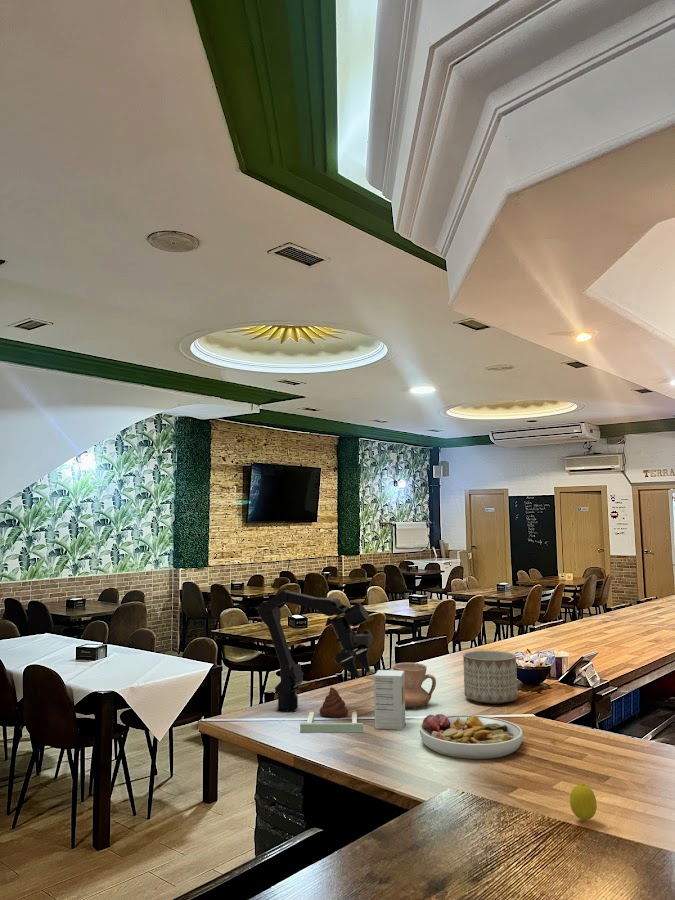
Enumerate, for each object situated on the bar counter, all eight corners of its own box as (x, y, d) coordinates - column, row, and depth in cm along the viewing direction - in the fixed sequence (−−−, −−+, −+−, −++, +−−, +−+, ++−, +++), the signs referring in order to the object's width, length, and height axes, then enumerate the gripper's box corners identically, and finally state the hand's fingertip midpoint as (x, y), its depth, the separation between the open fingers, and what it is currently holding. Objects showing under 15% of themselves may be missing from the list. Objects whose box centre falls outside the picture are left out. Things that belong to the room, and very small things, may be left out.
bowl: (526, 735, 211) (525, 709, 212) (519, 768, 183) (517, 737, 184) (431, 727, 221) (430, 702, 221) (410, 757, 192) (409, 728, 193)
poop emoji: (315, 717, 233) (315, 689, 234) (325, 710, 241) (324, 683, 242) (343, 719, 230) (342, 691, 231) (351, 713, 238) (351, 685, 239)
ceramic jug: (386, 710, 240) (386, 669, 242) (386, 699, 255) (386, 661, 256) (437, 712, 239) (437, 670, 240) (434, 701, 253) (434, 662, 255)
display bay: (300, 732, 216) (300, 724, 216) (303, 719, 230) (303, 712, 230) (363, 732, 215) (362, 724, 215) (362, 719, 229) (362, 711, 230)
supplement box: (402, 730, 217) (401, 676, 218) (374, 729, 218) (373, 675, 220) (405, 722, 226) (404, 670, 228) (378, 720, 228) (377, 669, 230)
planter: (499, 692, 265) (498, 649, 267) (528, 704, 247) (526, 657, 249) (455, 696, 259) (454, 652, 261) (481, 709, 241) (479, 661, 243)
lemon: (566, 817, 151) (564, 779, 152) (590, 815, 151) (588, 778, 152) (577, 827, 146) (575, 788, 146) (602, 826, 146) (600, 787, 147)
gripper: (351, 627, 227) (372, 672, 223) (372, 618, 244) (392, 659, 240) (325, 641, 231) (345, 684, 227) (348, 631, 248) (366, 671, 244)
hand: (363, 674), depth 234 cm, fingers open, 9 cm apart
